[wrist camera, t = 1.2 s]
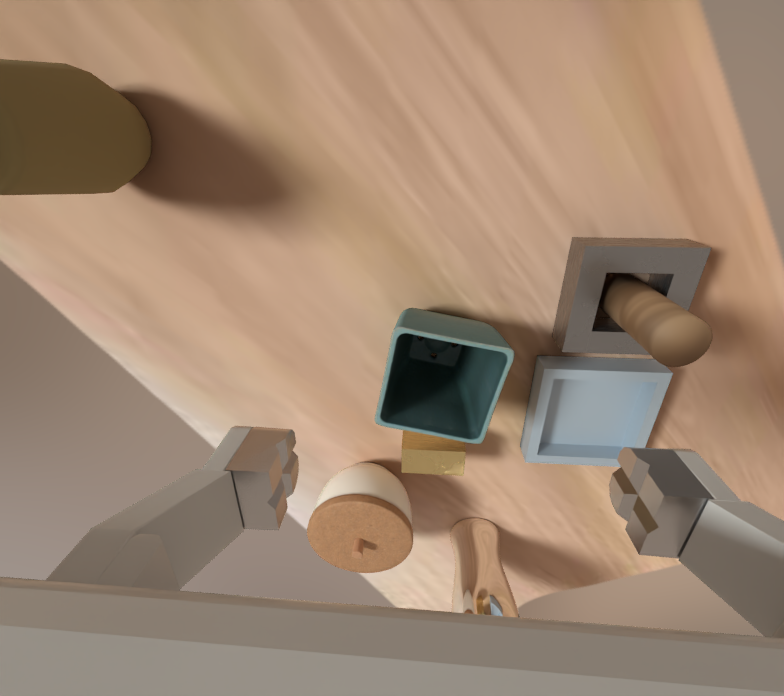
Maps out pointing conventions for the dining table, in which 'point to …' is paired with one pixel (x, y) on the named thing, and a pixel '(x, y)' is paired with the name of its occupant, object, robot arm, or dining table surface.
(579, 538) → the dining table surface
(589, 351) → the socket block
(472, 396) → the flower pot
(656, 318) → the dowel
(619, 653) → the robot arm
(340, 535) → the lidded jar
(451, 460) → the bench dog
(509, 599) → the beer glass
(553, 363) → the tray
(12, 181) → the squeeze bottle
